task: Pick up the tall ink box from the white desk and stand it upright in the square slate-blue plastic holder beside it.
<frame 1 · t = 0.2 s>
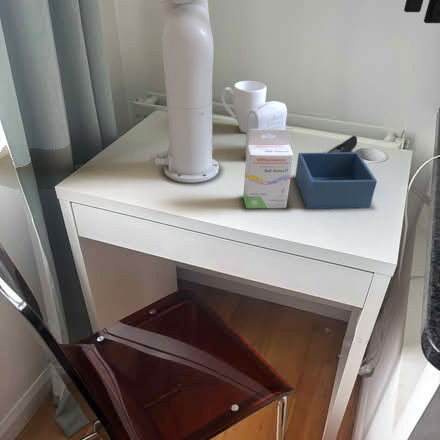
hand: (421, 17, 86), 31 cm above the table, tool pointing down, fingers open, 9 cm apart
mug: (241, 129, 123), on the table
ink box: (264, 203, 95), on the table
electric trimmer: (337, 157, 111), on the table
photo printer: (263, 155, 112), on the table
holder: (330, 192, 98), on the table
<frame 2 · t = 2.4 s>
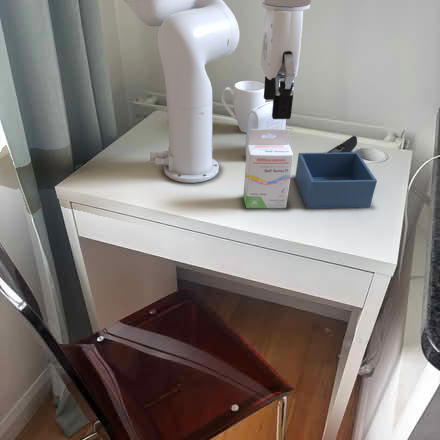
hand: (276, 108, 82), 19 cm above the table, tool pointing down, fingers open, 9 cm apart
nothing on the table moved.
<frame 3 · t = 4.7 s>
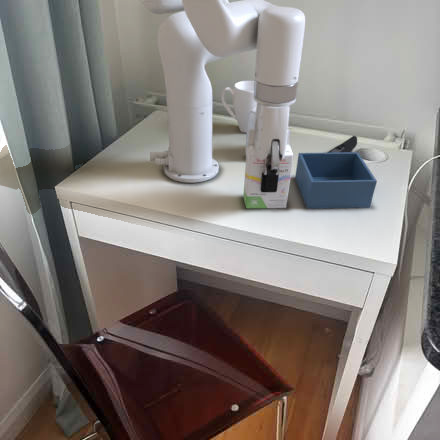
hand: (266, 183, 91), 4 cm above the table, tool pointing down, fingers closed on ink box, 5 cm apart
ink box: (264, 203, 95), on the table, touching gripper
everything else where it was.
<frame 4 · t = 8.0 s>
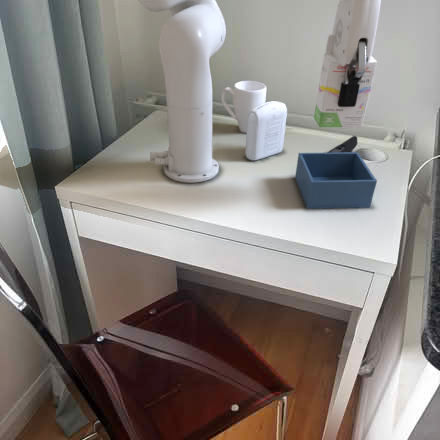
hand: (342, 99, 85), 20 cm above the table, tool pointing down, fingers closed on ink box, 5 cm apart
ink box: (337, 124, 88), point 15 cm above the table, touching gripper
everything else where it was.
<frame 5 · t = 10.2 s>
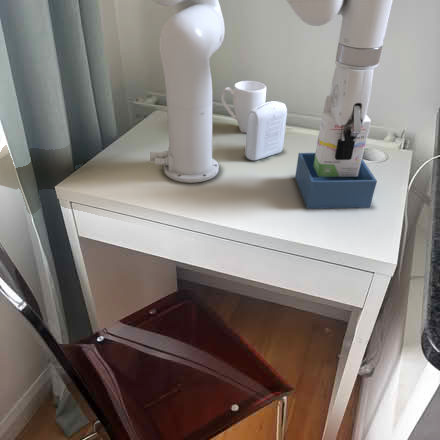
hand: (339, 151, 92), 9 cm above the table, tool pointing down, fingers closed on ink box, 5 cm apart
ink box: (335, 172, 95), point 5 cm above the table, touching gripper
everything else where it was.
when the fingers open (5 cm above the table, at t = 11.7 s): ink box stays where it is, resting on holder.
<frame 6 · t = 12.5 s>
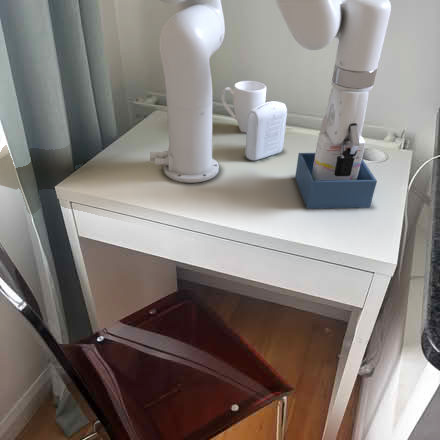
hand: (335, 164, 94), 6 cm above the table, tool pointing down, fingers open, 9 cm apart
ink box: (331, 190, 98), resting on holder
everything else where it was.
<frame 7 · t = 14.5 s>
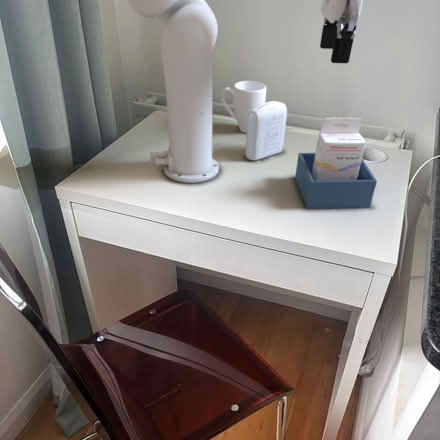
hand: (333, 55, 85), 26 cm above the table, tool pointing down, fingers open, 9 cm apart
nothing on the table moved.
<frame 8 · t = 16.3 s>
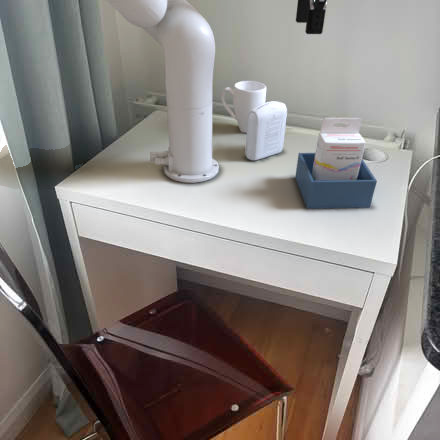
hand: (308, 27, 90), 28 cm above the table, tool pointing down, fingers open, 9 cm apart
nothing on the table moved.
at the end: ink box inside the target area in the holder (0.0 cm from its centre), point 0.3 cm above the holder's base; ink box tilted 0° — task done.
